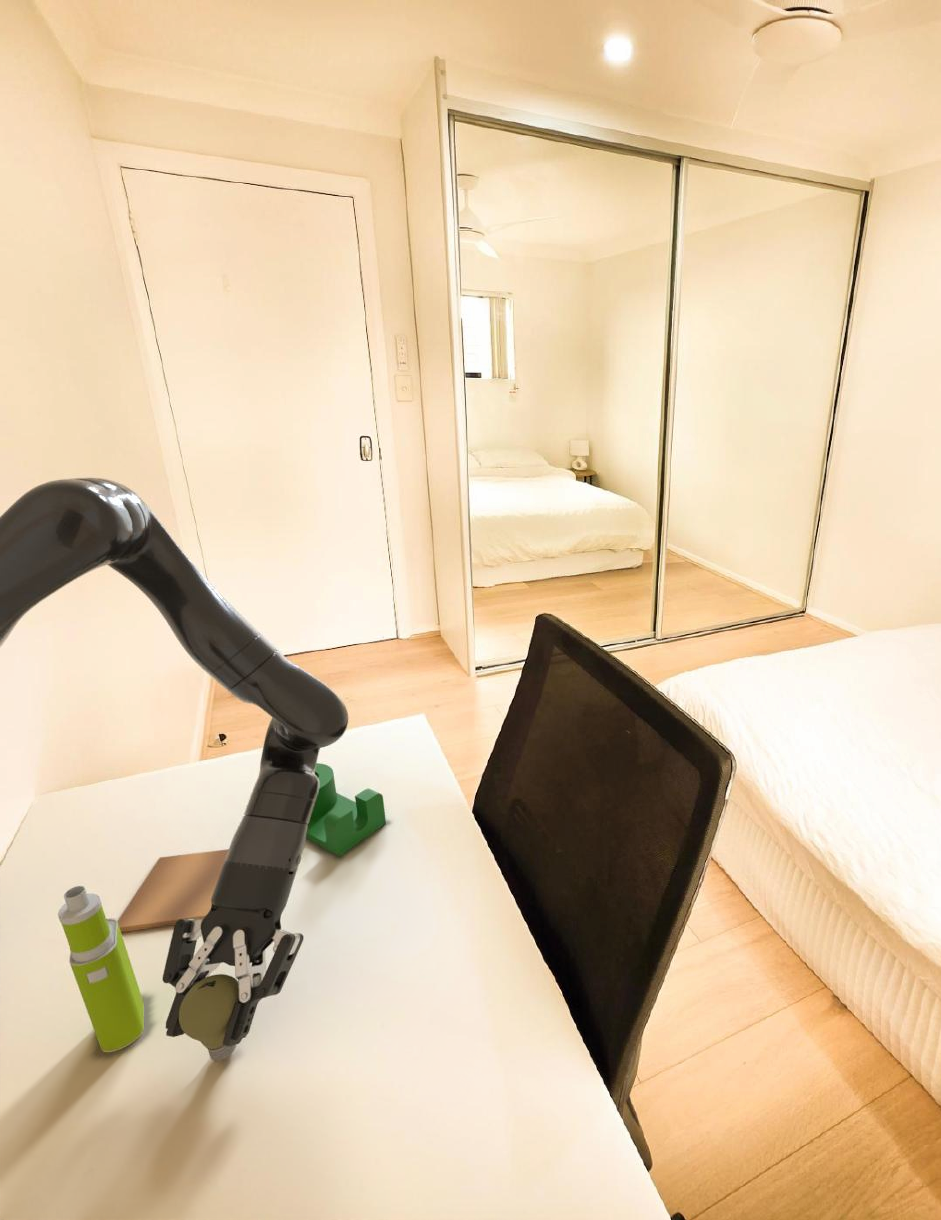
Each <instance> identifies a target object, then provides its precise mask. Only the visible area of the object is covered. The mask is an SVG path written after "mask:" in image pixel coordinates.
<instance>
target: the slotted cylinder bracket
mask: <svg viewBox="0 0 941 1220" xmlns="http://www.w3.org/2000/svg"><path fill="white" fill-rule="evenodd" d="M334 773H335V772H334V770H333V768H332V767H331V766H330V765H327V764H325V763H319V762H317V763H316V768H315V775H316V776H317V777H318V779H319V783H320V785H319V791H318V796H317V799H316V802H315V805H314V809H313V812H312V815H311V818H310V821H309V824H307V825H308V829H307V834H306V839H307V840H309V841H310V842H312V843H314V844H316V845H318V846H319V847H321V848H323V849H325V850H326V851H328V852H330V853H332V854H334V855H335V856H337V857H341V856H343V855H344V854H345V853H346V852H348V851H349V850H351V849H352V848H354V847H355V846H357V845H358V844H359V843H360V842H362V841H363V840H365V839H366V838H367V837H370V835H372V834H373V833H374V832H376V831H377V830H378V829H380V828H381V827H383V826H385V824H387V823H386V822H387V820H386V811H385V802H384V796H383V794H382V793H379V792H377V791H375V790H374V789H371V788H365V789H363V790H362V791H361V792H358V794H356V795H354V800H351V799H349V798H348V797H345V796H343V795H342V794H339V793H338V792H337V787H336V782H335V781H336V779H335V775H334Z"/></svg>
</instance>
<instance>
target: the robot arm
mask: <svg viewBox="0 0 941 1220" xmlns="http://www.w3.org/2000/svg"><path fill="white" fill-rule="evenodd" d="M105 566H108V567H110V568H111V569H112V570H114V571H115V572H117V573H118V574H120V575H121V576H123V577H124V578H126V579H127V580H128V581H129V582H131V583H132V584H133V585H134V586H135V587H137V588H138V589H139V591H140V592H141V593H142V594H143V595H145V596H146V597H147V598H148V599H149V600H150V601H151V603H152V604H153V605H154V606H155V608H156V609H157V611H159V613H160V614H161V616H162V617H163V619H164V620H165V621H166V623H167V625H168V626H169V628H170V629H171V631H172V633H173V635H174V636H175V637H176V639H177V641H178V642H179V644H180V645H181V646H182V648H183V649H184V651H185V652H186V653H187V655H188V656H189V657H190V658H191V659H192V660H193V661H194V663H196V664H197V665H198V666H199V667H200V669H202V670H203V671H204V672H205V673H206V674H208V675H209V676H210V677H211V678H212V679H213V680H215V681H216V682H217V683H218V684H219V685H220V686H221V687H222V688H223V689H225V690H226V692H228V693H229V694H231V696H233V697H235V698H236V699H237V700H239V701H241V702H242V703H245V704H249V705H250V704H251V705H254V706H257V707H258V708H260V709H261V710H263V712H265V713H266V714H268V715H269V716H270V717H271V719H270V721H269V724H268V727H267V729H266V733H265V736H264V741H263V747H262V750H261V751H262V752H261V756H260V762H259V771H258V775H257V779H256V781H255V783H254V785H253V787H252V791H251V794H250V796H249V798H248V801H247V805H246V807H245V810H244V814H243V816H242V818H241V821H240V822H239V825H238V826H237V828H236V830H235V833H234V835H233V837H232V840H231V842H230V845H229V848H228V849H229V850H228V849H227V850H228V853H227V856H226V859H225V861H224V864H223V867H222V870H221V873H220V875H219V878H218V881H217V884H216V887H215V889H214V892H213V895H212V898H211V903H212V906H211V909H210V911H209V912H208V914H207V915H206V916H205V917H204V918H203V919H202V920H199V919H180V920H178V921H177V922H176V923H175V925H173V931H172V935H171V939H170V943H169V946H168V947H169V948H168V953H167V956H166V961H165V966H164V970H163V973H162V983H164V984H169V985H171V986H172V987H173V988H174V989H175V996H174V999H173V1001H172V1004H171V1007H170V1010H169V1012H168V1015H167V1018H166V1020H165V1029H166V1033H165V1035H166V1036H167V1037H170V1038H175V1037H176V1038H177V1037H180V1036H183V1035H185V1032H184V1031H183V1030H182V1028H181V1026H180V1023H179V1010H180V1006H181V1003H182V1001H183V999H184V997H185V996H186V994H187V993H188V991H189V990H190V989H191V988H192V987H193V986H194V985H195V984H196V983H198V982H199V981H201V980H202V979H204V978H206V977H209V976H211V974H212V973H213V971H215V970H216V969H217V968H219V966H220V965H221V964H223V963H224V964H226V965H228V966H231V967H234V975H235V979H236V980H237V981H238V982H239V1000H240V1002H237V1003H235V1005H234V1008H233V1011H232V1014H231V1018H230V1021H229V1024H228V1027H227V1030H226V1033H225V1036H224V1039H223V1045H224V1046H233V1045H236V1046H237V1045H239V1044H240V1043H241V1042H242V1040H243V1039H245V1038H246V1037H247V1036H248V1034H249V1032H250V1031H251V1026H252V1024H253V1020H254V1017H255V1014H256V1011H257V1008H258V1004H259V1002H260V1001H261V1000H262V999H264V998H268V997H271V996H276V995H278V994H280V993H281V992H282V989H283V987H284V985H285V982H286V980H287V978H288V976H289V973H290V971H291V969H292V967H293V964H294V962H295V960H296V957H297V955H298V953H299V951H300V949H301V946H302V944H303V942H304V935H303V933H301V932H300V933H297V932H295V933H292V932H290V931H287V930H285V929H282V923H281V917H282V914H283V912H284V910H285V909H286V907H287V903H288V900H289V897H290V894H291V891H292V888H293V884H294V881H295V879H296V876H297V875H296V874H297V871H298V868H299V865H300V863H301V860H302V855H303V853H304V849H305V844H306V839H307V838H306V834H307V829H308V825H307V824H309V821H310V818H311V815H312V812H313V809H314V805H315V802H316V799H317V796H318V791H319V785H320V783H319V779H318V777H317V776H316V775H315V768H316V763H318V758H319V754H320V751H321V748H325V747H328V746H331V745H333V744H335V743H336V742H338V741H339V740H340V739H341V738H342V737H343V735H344V734H345V733H346V731H347V729H348V727H349V726H348V725H349V712H348V709H347V707H346V704H345V702H344V701H343V700H342V699H341V697H340V696H339V695H338V694H337V693H336V692H335V691H334V690H333V689H332V688H331V687H329V686H328V685H327V684H326V683H324V682H323V681H321V680H320V679H318V678H317V677H315V676H314V675H312V674H311V673H309V672H308V671H307V670H305V669H304V668H302V667H300V666H299V665H297V664H295V663H293V662H292V661H290V660H289V659H288V658H287V657H285V655H284V654H283V653H282V652H281V651H280V650H279V649H277V647H276V646H275V645H274V644H273V643H272V642H271V641H270V640H268V639H267V638H266V637H265V635H263V634H262V633H261V632H260V631H259V630H258V629H257V628H255V626H253V624H251V623H250V621H248V619H246V618H245V617H244V616H243V615H242V614H241V613H240V612H239V611H238V610H236V608H234V606H233V605H232V604H230V602H229V601H228V600H226V598H225V597H224V596H223V595H222V594H221V593H220V592H219V591H218V590H217V589H216V588H215V586H213V584H212V583H211V582H210V581H209V580H208V579H207V578H206V577H205V576H204V575H203V573H202V572H201V571H200V570H199V569H198V567H197V566H196V565H195V564H194V562H192V561H191V559H190V558H189V557H188V556H187V554H185V552H184V551H183V550H182V549H181V548H180V546H179V545H178V544H177V542H176V541H175V540H174V538H173V537H172V536H171V534H170V533H169V531H167V529H166V527H165V526H164V525H163V523H161V521H160V520H159V519H158V517H157V516H156V515H155V514H154V512H153V511H152V509H151V508H150V507H149V505H147V503H146V502H145V501H144V500H143V499H142V498H141V497H140V496H139V494H138V493H136V491H134V490H133V489H131V488H129V487H128V486H127V485H125V484H123V483H120V482H118V481H115V480H111V479H107V478H104V477H103V478H102V477H79V478H78V477H77V478H63V479H55V480H50V481H47V482H44V483H41V484H39V485H37V486H34V487H32V488H31V489H30V490H29V491H26V492H25V493H24V494H23V495H21V497H19V498H18V499H17V500H16V501H15V502H14V503H12V504H11V505H10V507H8V508H7V509H6V510H5V511H4V513H2V514H1V515H0V648H2V646H3V645H4V644H5V642H6V641H7V639H8V638H9V637H10V635H11V633H12V632H13V630H14V629H15V628H16V626H17V624H19V622H20V620H22V618H23V617H24V616H25V615H26V614H28V612H30V610H32V609H33V608H35V607H36V606H38V605H39V603H41V602H42V601H44V600H46V599H47V598H48V597H50V596H51V595H53V594H55V593H56V592H58V591H59V590H60V589H63V588H64V587H65V586H67V585H69V584H71V583H73V582H74V581H75V580H77V579H79V578H81V577H83V576H85V575H86V574H88V573H90V572H92V571H95V570H96V569H99V568H101V567H105ZM200 937H202V941H203V944H202V945H201V946H200V948H199V949H198V951H196V953H195V950H196V947H197V943H198V940H199V939H200ZM272 943H274V944H273V947H272V951H273V953H274V954H273V955H272V958H271V960H270V962H269V964H268V966H267V959H266V958H267V957H266V950H267V949H268V948H269V946H271V945H272Z"/></svg>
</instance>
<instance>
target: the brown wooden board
mask: <svg viewBox="0 0 941 1220" xmlns="http://www.w3.org/2000/svg"><path fill="white" fill-rule="evenodd" d="M228 850H229V848H228V849H221V850H212V851H203V852H195V853H194V852H193V853H187V854H178V855H169V856H161V857H159V858H158V860H157V861H156V863H155V864H154V865H153V867H152V868H151V870H150V871H149V873H148V875H147V876H146V877H145V879H144V881H142V884H141V885H140V887H139V888H138V889H137V891H136V892H135V894H134V896H133V897H132V899H130V901H129V903H128V904H127V906H126V908H125V909H124V911H123V912H122V913H121V915H120V917H119V918H118V919H117V922H118V925H119V928H120V931H121V933H125V932H130V931H138V930H144V929H152V928H159V927H160V928H161V927H166V926H167V927H168V926H175V923H176V922H177V921H178V920H180V919H199V920H202V919H203V918H204V917H205V916H206V915H207V914H208V912H209V911H210V909H211V906H212V903H211V898H212V895H213V892H214V889H215V887H216V884H217V881H218V878H219V875H220V873H221V870H222V867H223V864H224V861H225V859H226V856H227V853H228Z"/></svg>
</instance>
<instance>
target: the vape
mask: <svg viewBox="0 0 941 1220" xmlns="http://www.w3.org/2000/svg"><path fill="white" fill-rule="evenodd" d="M63 898H64V901H65V903H64V904H63V905H62V906H61V907H60V908H59V910H58V912H57V917H58V919H59V922H60V923H61V926H62V929H63V933H64V934H65V938H66V941H67V943H68V946H69V951H70V953H69V964H70V968H71V970H72V973H73V976H74V979H75V981H76V984H77V987H78V989H79V992H80V995H81V998H82V1000H83V1004H84V1005H85V1009H86V1011H87V1014H88V1017H89V1020H90V1023H91V1025H92V1028H93V1030H94V1034H95V1037H96V1039H97V1041H98V1044H99V1047H100V1050H101V1051H102V1052H103V1053H113V1052H116V1051H120V1050H122V1049H124V1048H126V1047H128V1046H129V1045H131V1044H133V1043H134V1042H135V1041H137V1040H138V1039H139V1038H140V1037H141V1036H142V1035H143V1033H144V1030H145V1004H144V1000H143V997H142V994H141V991H140V987H139V984H138V981H137V977H136V974H135V972H134V968H133V966H132V965H133V964H132V962H131V959H130V956H129V953H128V950H127V947H126V944H125V941H124V937H123V934H122V932H121V931H120V928H119V925H118V922H117V921H118V919H116V918H112V917H111V918H107V917H106V914H105V911H104V907H103V905H102V900H101V897H100V895H99V894H98V893H94V892H93V893H91V892H90V893H88V892H87V890H86V887H85V886H83V885H76V886H74V887H71V888H70V889H68V890H67V891H65V892H64V894H63Z"/></svg>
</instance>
